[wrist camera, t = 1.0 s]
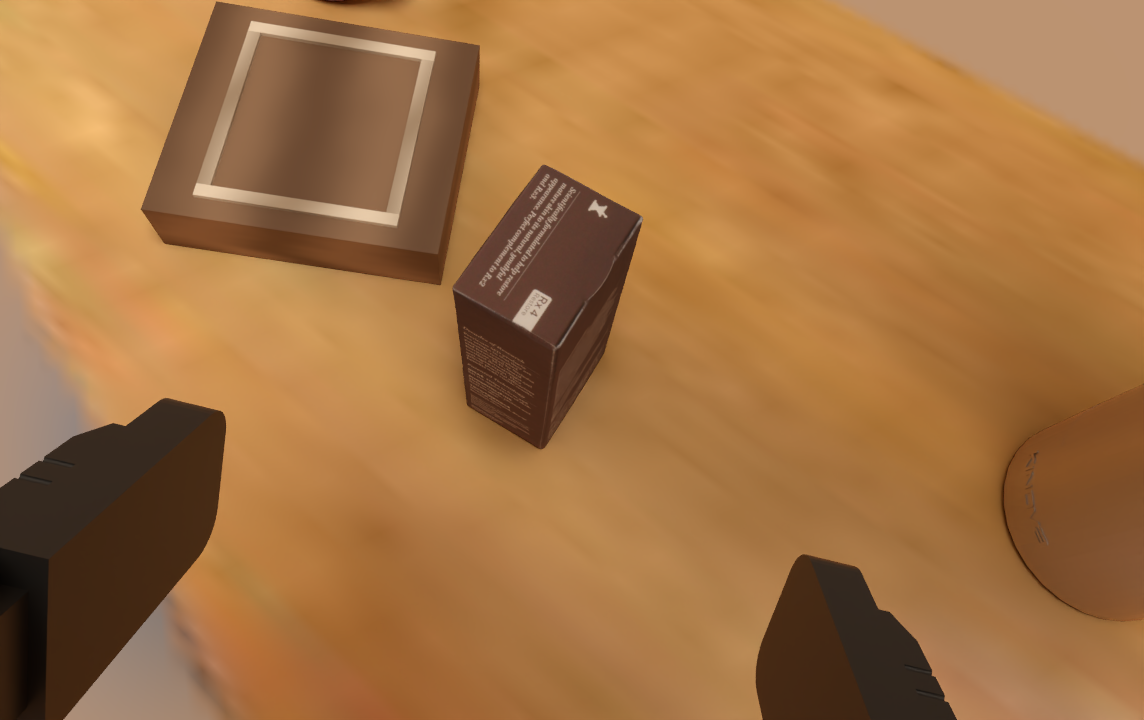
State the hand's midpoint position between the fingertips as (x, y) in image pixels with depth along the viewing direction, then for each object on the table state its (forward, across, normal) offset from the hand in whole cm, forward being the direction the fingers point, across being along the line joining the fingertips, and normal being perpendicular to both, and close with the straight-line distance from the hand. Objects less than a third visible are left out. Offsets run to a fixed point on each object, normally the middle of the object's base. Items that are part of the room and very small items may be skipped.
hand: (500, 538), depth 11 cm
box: (+26, 0, +8) cm, 27 cm away
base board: (+32, +13, +2) cm, 35 cm away
